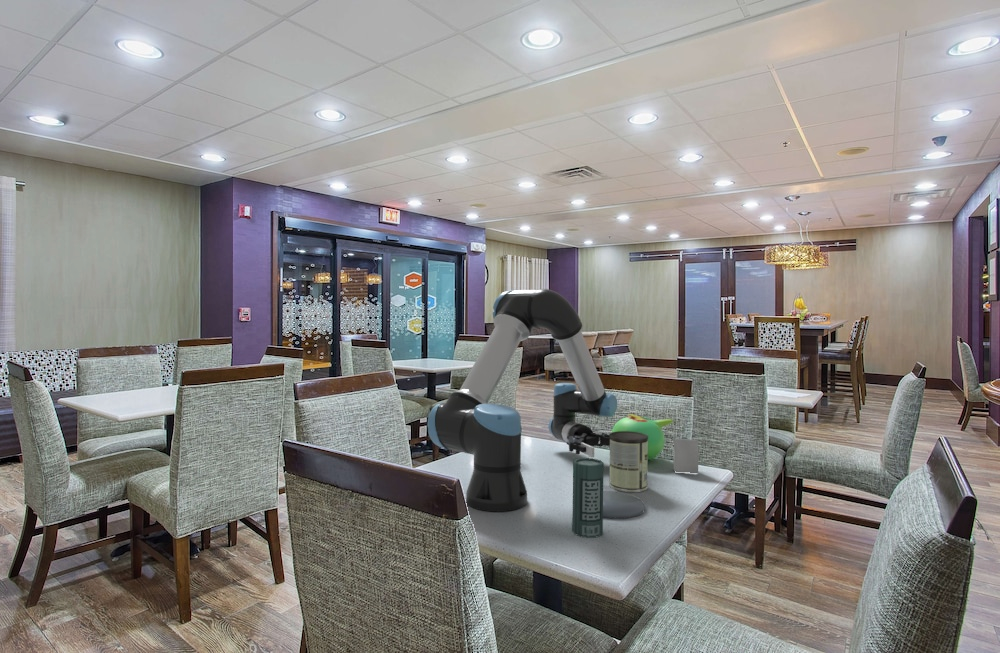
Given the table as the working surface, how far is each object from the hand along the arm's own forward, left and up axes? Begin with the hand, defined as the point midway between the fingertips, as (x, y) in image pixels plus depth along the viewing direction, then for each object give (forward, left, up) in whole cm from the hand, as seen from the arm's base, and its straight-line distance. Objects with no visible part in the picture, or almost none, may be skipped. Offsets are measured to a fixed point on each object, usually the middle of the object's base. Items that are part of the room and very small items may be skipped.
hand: (614, 450), depth 153 cm
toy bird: (+20, +16, -8) cm, 27 cm away
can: (-26, -32, -8) cm, 42 cm away
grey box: (+24, -2, -8) cm, 25 cm away
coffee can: (0, -8, -8) cm, 11 cm away
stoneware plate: (-13, -20, -8) cm, 25 cm away
